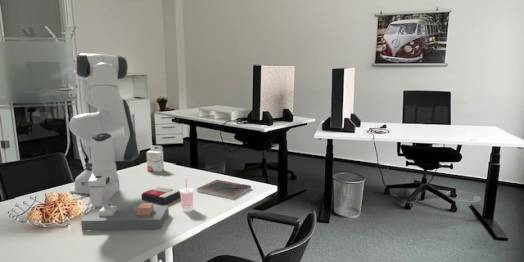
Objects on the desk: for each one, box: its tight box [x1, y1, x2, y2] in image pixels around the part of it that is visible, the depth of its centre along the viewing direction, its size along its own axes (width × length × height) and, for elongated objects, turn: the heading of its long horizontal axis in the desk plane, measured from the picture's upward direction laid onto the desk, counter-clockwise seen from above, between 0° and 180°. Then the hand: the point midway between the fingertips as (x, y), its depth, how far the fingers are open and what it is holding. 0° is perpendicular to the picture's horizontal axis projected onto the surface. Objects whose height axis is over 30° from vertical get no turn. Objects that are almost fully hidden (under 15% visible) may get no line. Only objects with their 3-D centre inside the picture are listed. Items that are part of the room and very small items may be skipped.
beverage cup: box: [179, 178, 195, 213], centre depth 161 cm, size 6×6×14 cm
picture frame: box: [196, 179, 252, 200], centre depth 186 cm, size 16×2×22 cm
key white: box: [99, 205, 117, 216], centre depth 149 cm, size 5×5×4 cm
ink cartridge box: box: [146, 144, 165, 173], centre depth 219 cm, size 9×5×15 cm, turn 77°
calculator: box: [140, 186, 181, 206], centre depth 175 cm, size 11×4×15 cm
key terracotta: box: [137, 202, 154, 216], centre depth 149 cm, size 5×5×4 cm
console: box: [80, 205, 170, 232], centre depth 149 cm, size 30×14×4 cm, turn 91°
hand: (107, 208), depth 149 cm, fingers closed, pressing on key white
